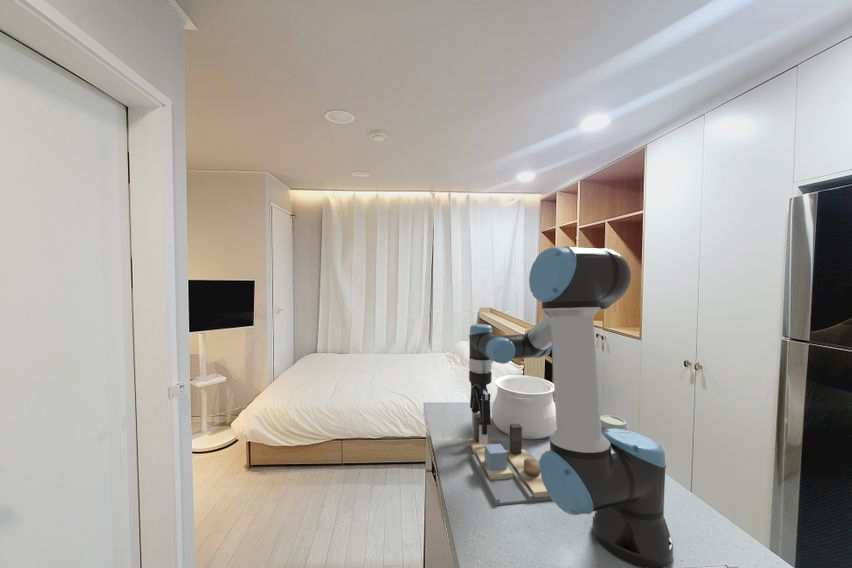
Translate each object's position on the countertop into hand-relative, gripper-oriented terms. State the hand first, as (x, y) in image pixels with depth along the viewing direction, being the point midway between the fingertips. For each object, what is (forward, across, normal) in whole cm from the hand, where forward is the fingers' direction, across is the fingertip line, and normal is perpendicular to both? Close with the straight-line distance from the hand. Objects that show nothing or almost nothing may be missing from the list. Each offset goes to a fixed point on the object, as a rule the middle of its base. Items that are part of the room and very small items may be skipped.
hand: (479, 436), depth 116 cm
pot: (+3, +12, -22) cm, 25 cm away
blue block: (+1, -15, 0) cm, 15 cm away
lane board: (+3, -18, -4) cm, 19 cm away
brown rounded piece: (+1, -20, -9) cm, 22 cm away
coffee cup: (+3, -12, -40) cm, 42 cm away
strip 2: (+3, -18, -9) cm, 21 cm away
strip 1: (+3, -9, 0) cm, 10 cm away
